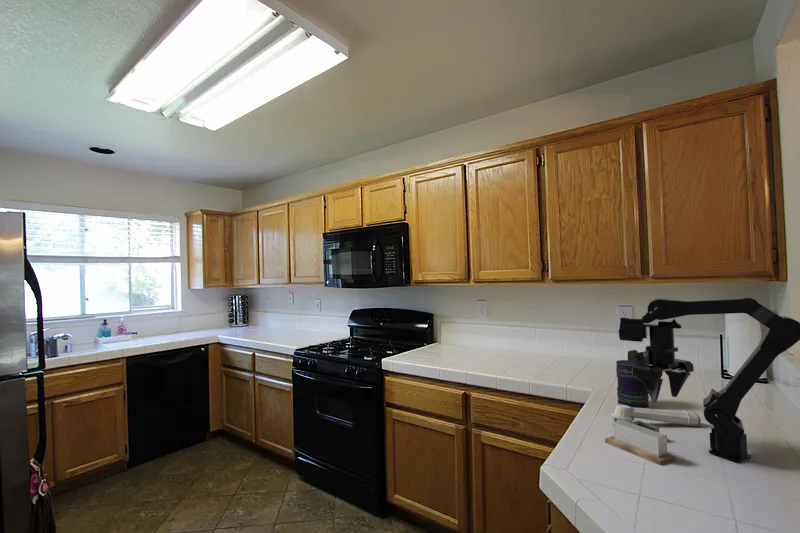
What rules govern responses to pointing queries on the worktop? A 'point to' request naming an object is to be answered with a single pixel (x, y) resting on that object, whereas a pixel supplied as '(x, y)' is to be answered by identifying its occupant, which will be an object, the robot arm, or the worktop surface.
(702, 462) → the worktop surface
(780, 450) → the worktop surface
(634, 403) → the storage jar
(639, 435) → the steel bar
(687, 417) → the toothbrush head
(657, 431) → the vise
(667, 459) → the board
